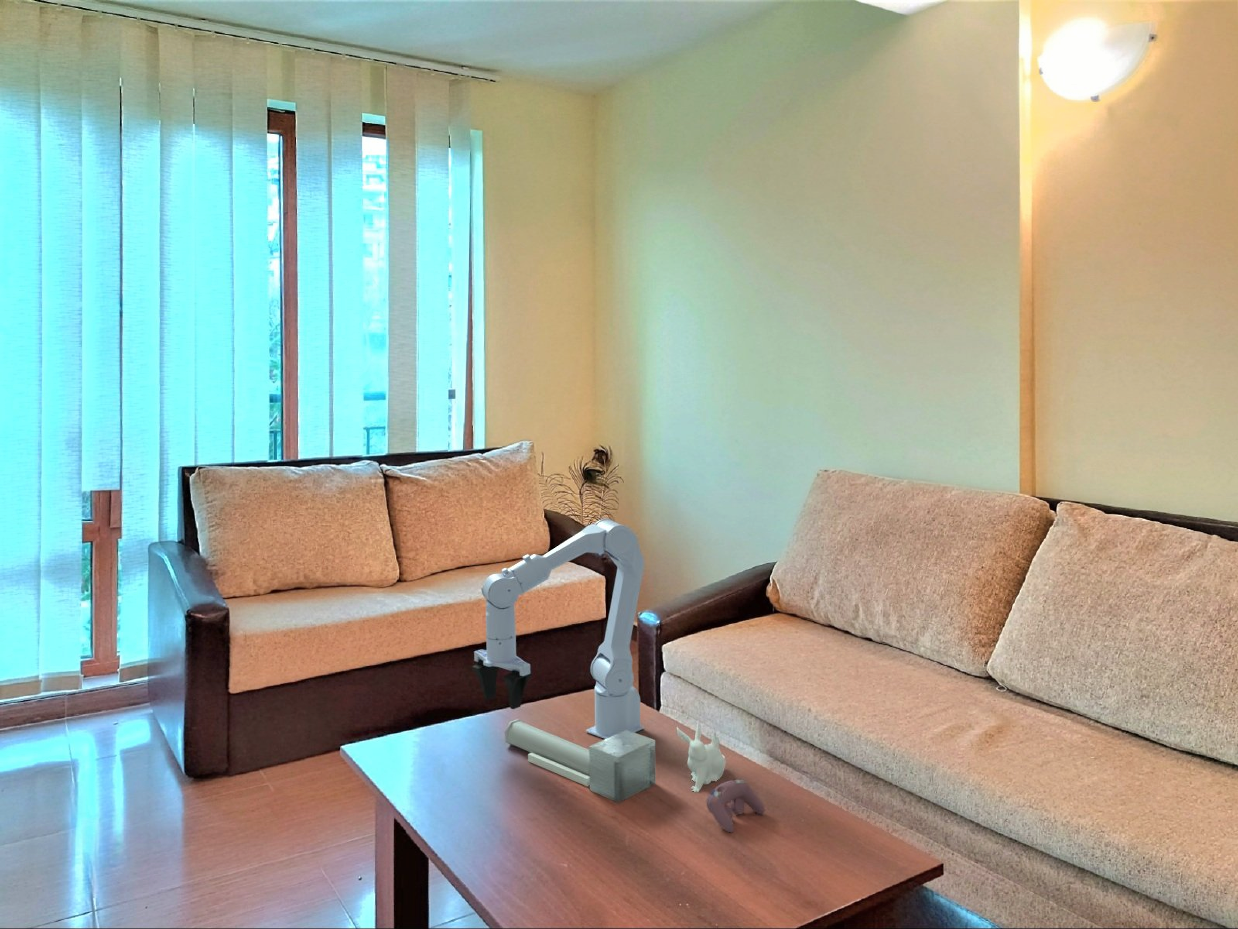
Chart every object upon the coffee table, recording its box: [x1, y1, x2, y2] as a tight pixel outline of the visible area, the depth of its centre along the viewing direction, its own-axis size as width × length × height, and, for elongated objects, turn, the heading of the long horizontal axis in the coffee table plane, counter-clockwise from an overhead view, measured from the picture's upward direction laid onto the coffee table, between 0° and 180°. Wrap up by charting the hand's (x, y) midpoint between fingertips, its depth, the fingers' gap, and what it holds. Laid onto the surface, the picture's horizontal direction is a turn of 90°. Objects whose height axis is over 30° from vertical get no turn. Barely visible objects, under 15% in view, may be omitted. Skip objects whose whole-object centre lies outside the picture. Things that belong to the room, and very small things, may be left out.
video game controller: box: [705, 779, 766, 833], centre depth 150 cm, size 10×5×7 cm, turn 135°
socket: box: [588, 730, 656, 804], centre depth 161 cm, size 10×7×8 cm
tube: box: [504, 718, 590, 777], centre depth 173 cm, size 5×5×25 cm
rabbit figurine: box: [676, 722, 727, 794], centre depth 165 cm, size 12×8×10 cm, turn 138°
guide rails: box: [527, 752, 590, 787], centre depth 170 cm, size 8×16×1 cm, turn 47°
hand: (502, 703), depth 177 cm, fingers open, 7 cm apart
